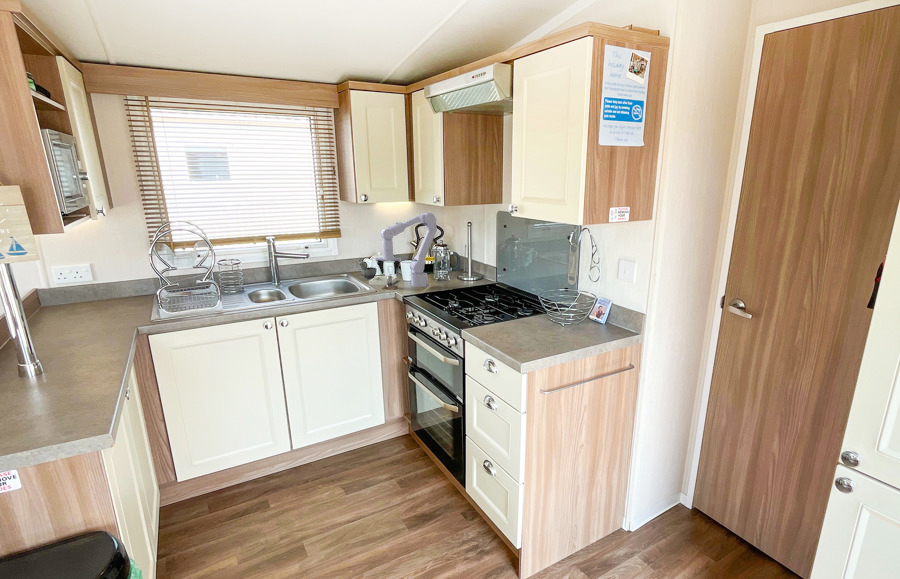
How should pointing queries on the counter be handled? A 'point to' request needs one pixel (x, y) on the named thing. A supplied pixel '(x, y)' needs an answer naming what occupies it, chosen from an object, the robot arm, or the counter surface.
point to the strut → (389, 282)
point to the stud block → (390, 288)
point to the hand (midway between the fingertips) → (389, 273)
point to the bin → (376, 282)
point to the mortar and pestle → (368, 271)
